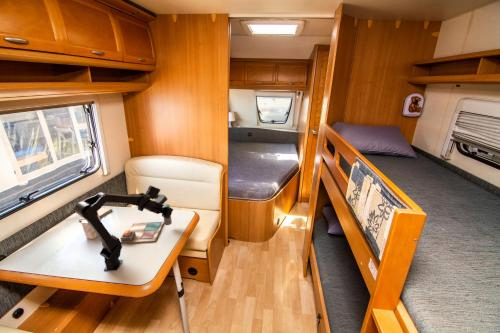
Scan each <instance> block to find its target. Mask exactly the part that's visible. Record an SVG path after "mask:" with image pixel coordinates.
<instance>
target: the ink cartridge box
mask: <svg viewBox="0 0 500 333" xmlns="http://www.w3.org/2000/svg"><path fill="white" fill-rule="evenodd" d="M97 213H98V212H97ZM98 218H99V220H100V221H101V218H100V217H99V214H98ZM101 222H102V221H101ZM80 223H81V226H82V229H83V232H84V236H85V238H86V239H91V240H94V239H95V238H96V237H97V236H98V235H97V234H96V232H95V231H94V230H93V228H92V227H91V226H90V224H89V223H88V222H87V221H86V220H84V221H82V222H80ZM98 237H99V236H98Z"/></svg>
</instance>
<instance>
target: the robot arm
mask: <svg viewBox="0 0 500 333" xmlns="http://www.w3.org/2000/svg"><path fill="white" fill-rule="evenodd" d="M160 192H161V189H160V188H158V187H156V186H153V185H149V186H148V188H147V189H146V192H145V193H144V192H141V193H130V194H117V193H108V192H107V193H106V192H102V191H101V192H98V193H97V194H95V195H93V196H90V197H87V198H85V199H84V200H82V201H80V202H77V204H75V206H74V208H73V210H74V213H76V214H77V215H78V216H80V218H81V217H82V218H84V219H85V220H86V221H87V222H88V223H89V224H90V226H91V227H92V228H93V230H94V231H95V232H96V234H97V235H98V238H99V239H100V240H101V244H102V249H101V250H100V252H99V255H100V256H101V257H103V258H104V264H105V267H104V268H103V271H104V272H105V271H117V270H118V269H119V268H120V266H121V264H122V262H123V259H120V257H121V252H122V249H123V244H122V243H121V239H119V237H117V236H115V235H114V234H110V232H109V231H108V229H107V228H106V227H105V225H104V224H103V222H102V221H100V220H101V219H100V220H99V218H98V213H97V211H98V210H99V209H100V208H103V206H104V205H105V204H106V203H114V204H115V203H116V204H129V205H132V206H134V207H135V206H136V207H137V210H138V211H140V212H143V211H144V210H146V211H149V212H151V213H154V214H157V215H159V214H161V217H163V218H164V217H165V218H167V219H169V217H170V215H171V216H172V213H173V211H174V208H172V207H171V206H170V207H164V208H163V206H164V205H165V203H166V202H167V201H168V198H167V196H166V195H165V194H161V193H160ZM162 209H163V210H162Z"/></svg>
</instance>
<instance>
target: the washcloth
mask: <svg viewBox="0 0 500 333" xmlns="http://www.w3.org/2000/svg"><path fill="white" fill-rule="evenodd" d="M97 212H98V214H99V217H100V219H102V218H104V217H105V216H107V215H108V214H110V213H111V212H113V209H112V208H109V207H108V208H106V207H101V208H100V209H99V210H98V211H97ZM84 220H85V219H84V218H82V217H81V216H80V217H79V218H78V222H80V223H81V222H82V221H84Z"/></svg>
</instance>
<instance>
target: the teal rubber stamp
mask: <svg viewBox="0 0 500 333" xmlns="http://www.w3.org/2000/svg"><path fill="white" fill-rule="evenodd" d="M163 205H164V206H163V208H164V207H170V208H171V205H170V204H169V203H167V204H165V203H164V204H163ZM162 210H163V209H162ZM163 222H164V225H165V226H170V225H172V223H173V222H172V214H171V215H170V217H169V219H167V218H165V217H163Z"/></svg>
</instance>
